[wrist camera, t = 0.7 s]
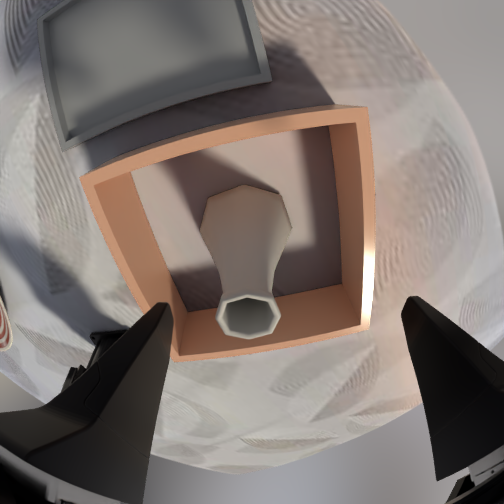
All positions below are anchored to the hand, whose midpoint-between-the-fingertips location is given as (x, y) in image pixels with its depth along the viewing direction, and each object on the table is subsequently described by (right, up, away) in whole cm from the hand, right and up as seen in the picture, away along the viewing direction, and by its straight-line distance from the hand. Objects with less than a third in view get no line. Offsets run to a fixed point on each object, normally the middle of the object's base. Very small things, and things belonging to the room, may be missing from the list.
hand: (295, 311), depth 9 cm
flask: (-2, +4, +12) cm, 13 cm away
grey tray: (-10, +17, +4) cm, 20 cm away
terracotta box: (-2, +4, +12) cm, 13 cm away
